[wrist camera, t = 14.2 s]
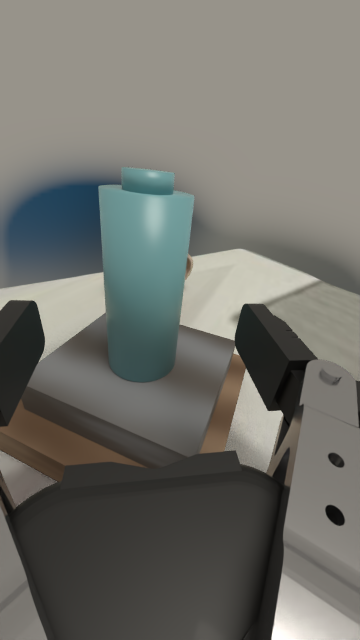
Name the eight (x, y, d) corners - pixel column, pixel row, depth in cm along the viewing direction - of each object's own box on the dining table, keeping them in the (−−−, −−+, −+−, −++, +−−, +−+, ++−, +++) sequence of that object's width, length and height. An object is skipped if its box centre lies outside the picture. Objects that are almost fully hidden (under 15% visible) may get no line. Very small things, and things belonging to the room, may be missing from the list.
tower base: (116, 337, 32) (114, 294, 29) (242, 379, 28) (255, 334, 25) (-4, 447, 19) (-32, 393, 16) (194, 556, 15) (210, 511, 12)
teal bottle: (130, 332, 23) (130, 166, 16) (184, 349, 22) (208, 176, 15) (94, 367, 19) (74, 163, 12) (158, 391, 18) (175, 176, 11)
